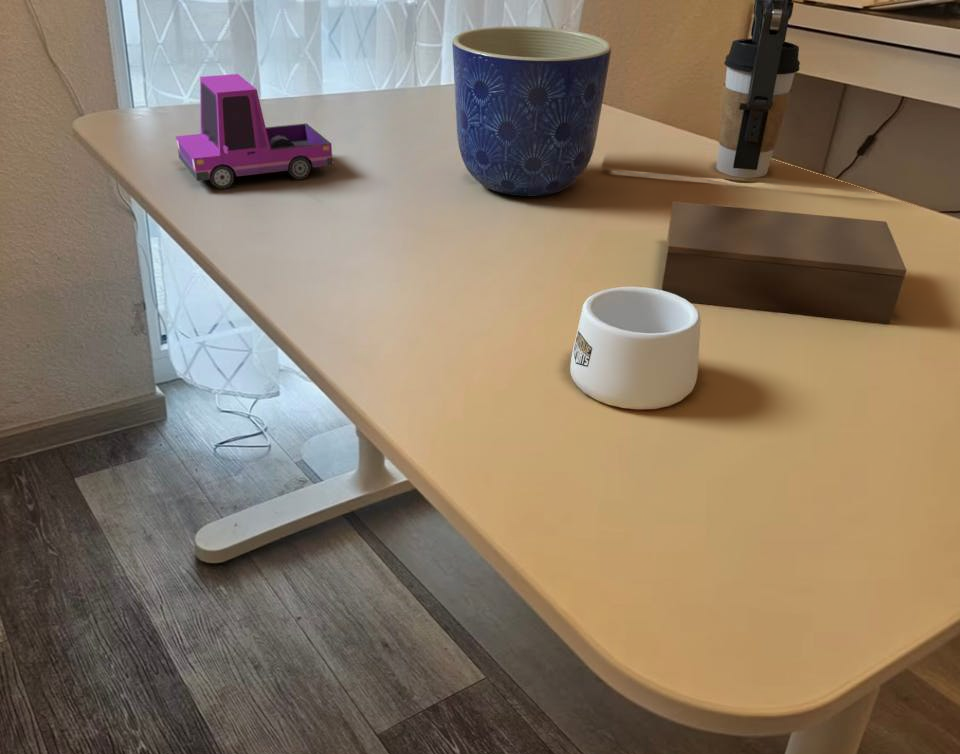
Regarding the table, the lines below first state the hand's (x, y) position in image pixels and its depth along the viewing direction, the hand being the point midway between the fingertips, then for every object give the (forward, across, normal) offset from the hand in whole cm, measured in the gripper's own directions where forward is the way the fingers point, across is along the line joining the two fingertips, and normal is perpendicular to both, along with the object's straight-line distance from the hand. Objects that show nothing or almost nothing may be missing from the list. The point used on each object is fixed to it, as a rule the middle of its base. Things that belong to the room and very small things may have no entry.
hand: (744, 157), depth 114 cm
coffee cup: (+2, 0, 0) cm, 2 cm away
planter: (+2, +11, -25) cm, 27 cm away
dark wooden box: (+2, +33, +2) cm, 33 cm away
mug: (+2, +54, -10) cm, 55 cm away
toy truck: (+2, +16, -56) cm, 58 cm away
